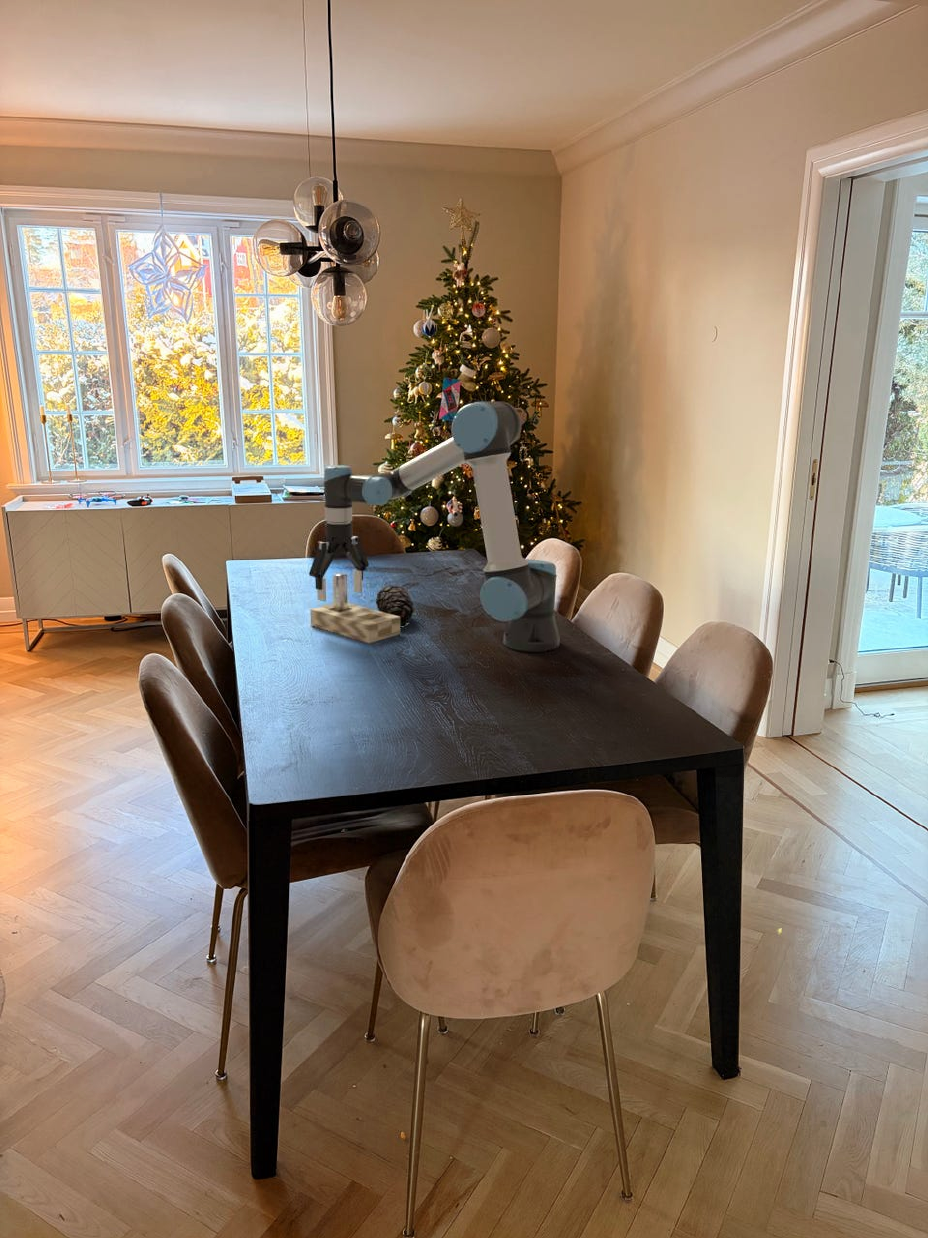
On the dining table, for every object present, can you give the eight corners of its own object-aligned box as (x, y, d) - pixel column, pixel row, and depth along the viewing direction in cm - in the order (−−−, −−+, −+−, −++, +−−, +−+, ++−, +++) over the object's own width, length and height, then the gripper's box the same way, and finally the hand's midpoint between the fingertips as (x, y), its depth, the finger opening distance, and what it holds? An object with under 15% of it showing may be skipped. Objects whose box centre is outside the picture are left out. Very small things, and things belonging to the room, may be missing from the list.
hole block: (400, 634, 249) (400, 616, 247) (368, 643, 240) (368, 625, 238) (342, 618, 264) (342, 601, 262) (310, 626, 255) (310, 609, 253)
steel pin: (350, 622, 255) (350, 574, 252) (340, 625, 252) (339, 577, 249) (341, 619, 258) (340, 572, 254) (331, 622, 255) (329, 574, 251)
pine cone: (390, 630, 252) (390, 596, 249) (371, 615, 268) (370, 582, 265) (425, 627, 256) (425, 593, 253) (403, 612, 272) (403, 580, 269)
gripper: (362, 515, 259) (363, 586, 265) (294, 525, 241) (297, 601, 246) (380, 518, 254) (381, 591, 260) (312, 528, 236) (314, 606, 242)
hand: (340, 596), depth 253 cm, fingers open, 13 cm apart
